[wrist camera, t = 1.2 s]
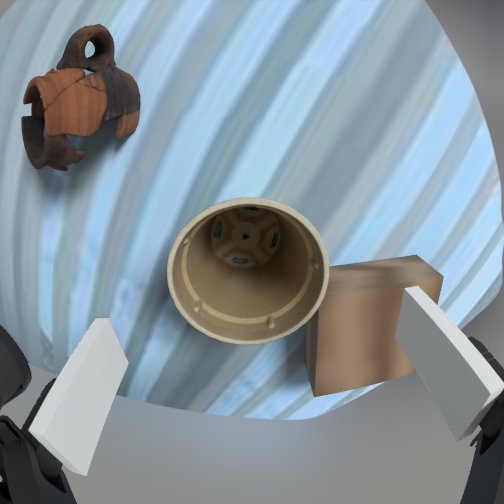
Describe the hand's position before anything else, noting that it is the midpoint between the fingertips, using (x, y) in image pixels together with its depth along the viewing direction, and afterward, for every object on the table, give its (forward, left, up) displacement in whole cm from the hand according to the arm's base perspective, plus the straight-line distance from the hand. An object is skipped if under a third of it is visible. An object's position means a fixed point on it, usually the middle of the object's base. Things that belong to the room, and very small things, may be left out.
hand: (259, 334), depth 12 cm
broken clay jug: (-12, +14, -14) cm, 23 cm away
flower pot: (0, 0, -14) cm, 14 cm away
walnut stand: (+11, -10, -14) cm, 20 cm away
